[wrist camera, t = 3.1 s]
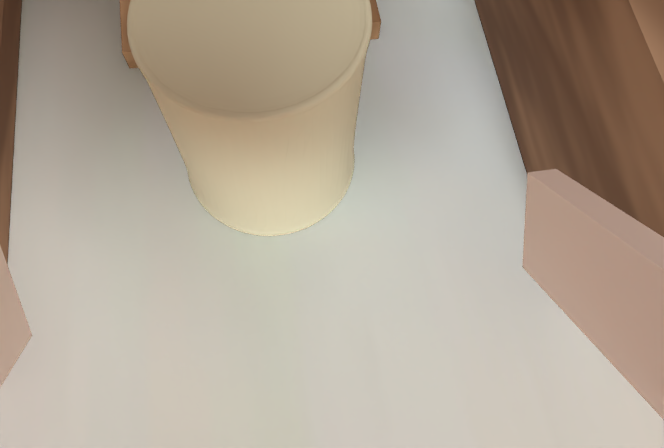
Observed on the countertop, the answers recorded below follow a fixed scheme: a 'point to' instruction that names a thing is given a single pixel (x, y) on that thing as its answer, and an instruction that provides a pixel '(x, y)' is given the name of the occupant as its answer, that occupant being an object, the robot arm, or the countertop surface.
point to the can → (258, 101)
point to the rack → (525, 94)
